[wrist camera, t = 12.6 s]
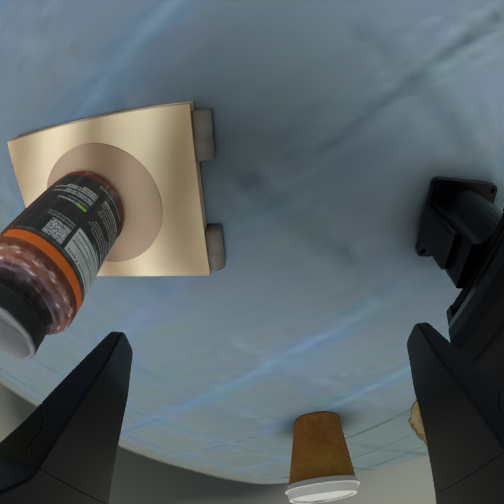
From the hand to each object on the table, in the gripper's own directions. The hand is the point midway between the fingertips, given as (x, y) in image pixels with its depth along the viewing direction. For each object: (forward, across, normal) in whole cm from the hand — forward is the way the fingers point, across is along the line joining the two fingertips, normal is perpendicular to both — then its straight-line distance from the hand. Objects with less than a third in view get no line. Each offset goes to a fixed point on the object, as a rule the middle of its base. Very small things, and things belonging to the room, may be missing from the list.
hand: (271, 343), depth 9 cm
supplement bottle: (+12, +12, +1) cm, 17 cm away
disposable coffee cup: (+13, -7, +35) cm, 38 cm away
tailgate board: (+13, +11, +1) cm, 17 cm away
